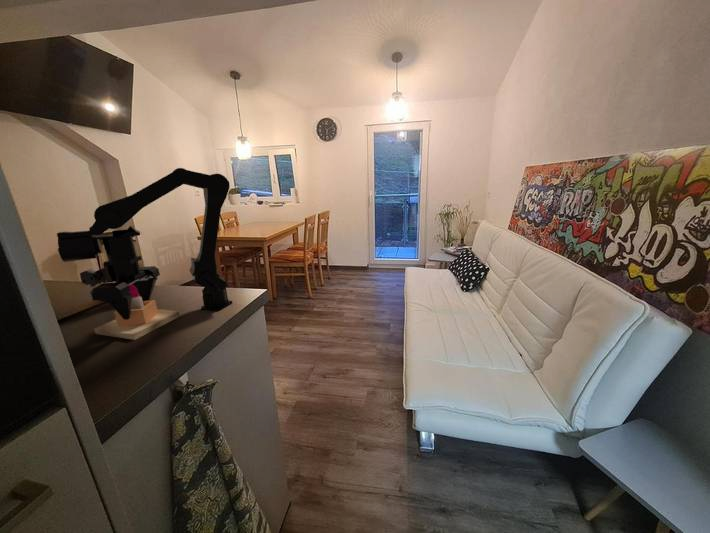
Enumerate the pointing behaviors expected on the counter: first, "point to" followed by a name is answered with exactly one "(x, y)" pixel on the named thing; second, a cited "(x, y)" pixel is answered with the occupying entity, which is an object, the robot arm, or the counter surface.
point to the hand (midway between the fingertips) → (137, 311)
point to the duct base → (137, 330)
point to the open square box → (139, 314)
